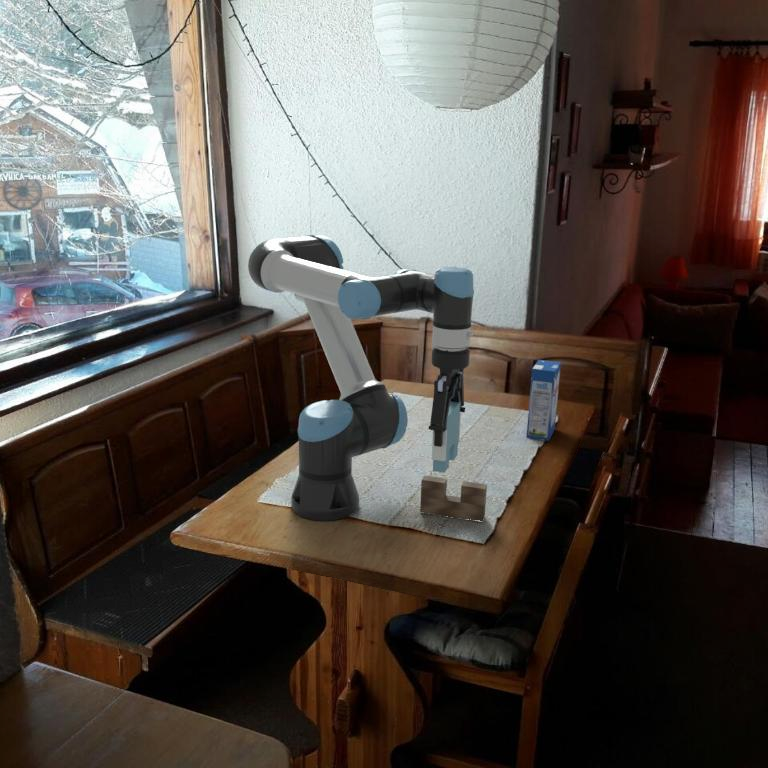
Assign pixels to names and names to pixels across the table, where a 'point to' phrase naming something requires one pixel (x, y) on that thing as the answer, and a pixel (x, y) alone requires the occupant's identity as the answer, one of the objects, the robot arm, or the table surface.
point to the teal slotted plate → (450, 438)
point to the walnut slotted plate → (453, 499)
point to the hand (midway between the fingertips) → (445, 450)
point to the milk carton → (543, 399)
